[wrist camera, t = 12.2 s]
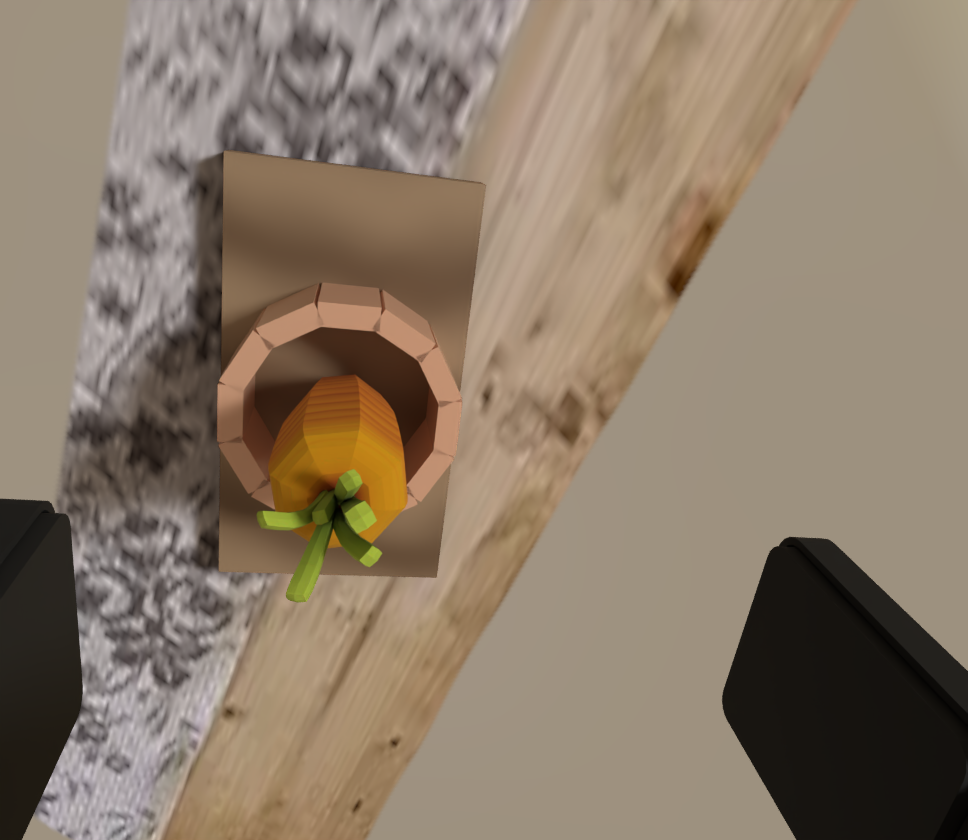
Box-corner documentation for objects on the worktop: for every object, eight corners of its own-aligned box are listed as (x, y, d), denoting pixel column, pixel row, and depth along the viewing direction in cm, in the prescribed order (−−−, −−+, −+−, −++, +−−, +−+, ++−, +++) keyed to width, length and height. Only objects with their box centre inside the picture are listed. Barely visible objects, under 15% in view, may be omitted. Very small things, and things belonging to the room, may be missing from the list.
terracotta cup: (234, 273, 33) (218, 292, 29) (461, 296, 35) (473, 316, 31) (230, 481, 36) (216, 521, 33) (437, 491, 38) (446, 531, 34)
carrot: (323, 453, 36) (303, 657, 23) (269, 366, 34) (210, 533, 21) (415, 407, 36) (451, 585, 23) (366, 317, 34) (372, 452, 21)
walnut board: (229, 149, 32) (223, 151, 31) (480, 182, 34) (485, 184, 33) (223, 555, 39) (218, 571, 38) (434, 562, 41) (436, 577, 40)
